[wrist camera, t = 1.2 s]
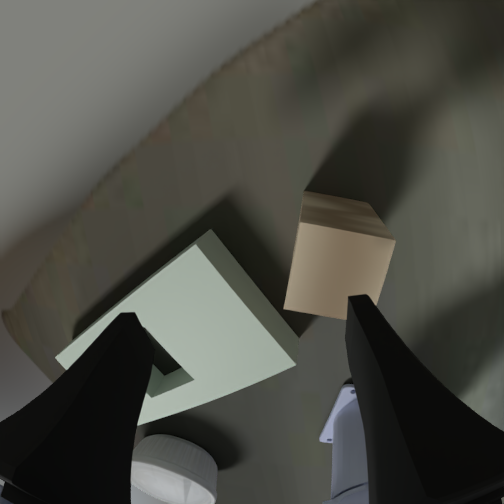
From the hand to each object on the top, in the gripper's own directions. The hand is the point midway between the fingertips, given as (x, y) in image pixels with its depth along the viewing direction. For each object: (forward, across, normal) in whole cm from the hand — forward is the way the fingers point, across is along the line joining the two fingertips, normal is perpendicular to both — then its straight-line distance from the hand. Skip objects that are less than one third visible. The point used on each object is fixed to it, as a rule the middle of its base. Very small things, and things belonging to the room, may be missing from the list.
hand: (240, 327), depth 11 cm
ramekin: (+6, +13, +29) cm, 32 cm away
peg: (+10, -4, +2) cm, 11 cm away
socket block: (+9, +9, +11) cm, 17 cm away
